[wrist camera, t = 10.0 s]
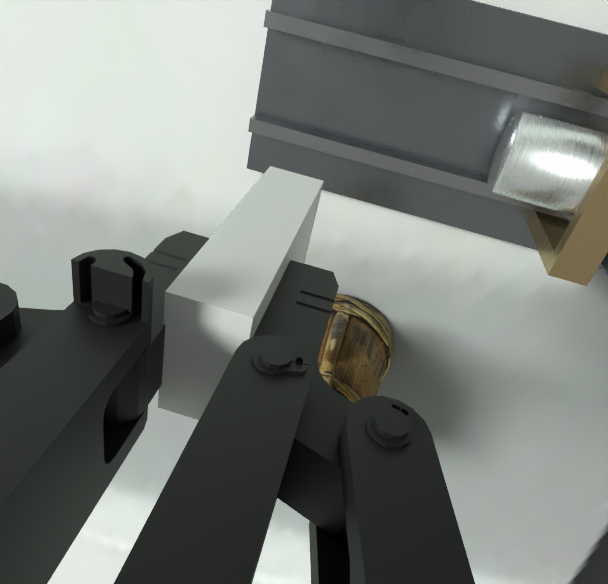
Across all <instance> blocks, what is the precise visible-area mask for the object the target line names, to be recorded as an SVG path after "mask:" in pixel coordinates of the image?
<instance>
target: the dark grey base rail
mask: <svg viewBox="0 0 608 584" xmlns="http://www.w3.org/2000/svg"><path fill="white" fill-rule="evenodd" d="M264 27H267V28H268V32H267V38H266V45H265V52H264V58H263V65H262V71H261V78H260V85H259V91H258V98H257V104H256V111H255V115H254V116H252V117H251V118H250V123H249V130H248V131H249V132H252V137H251V144H250V150H249V157H248V164H247V168H248V169H251V170H255V171H258V172H262V173H265V172H266V171H267V169H268V168H269V167H270V166H272V167H275V168H279V169H283V170H286V171H290V172H294V173H297V174H301V175H304V176H308V177H312V178H315V179H319V180H323V181H324V182H323V186H322V190H326V191H330V192H333V193H337V194H340V195H344V196H347V197H351V198H354V199H358V200H362V201H365V202H369V203H372V204H376V205H379V206H383V207H386V208H390V209H394V210H397V211H401V212H404V213H408V214H411V215H415V216H419V217H422V218H426V219H429V220H433V221H436V222H440V223H443V224H447V225H451V226H454V227H458V228H461V229H465V230H468V231H472V232H475V233H479V234H483V235H486V236H490V237H493V238H497V239H500V240H504V241H507V242H511V243H515V244H518V245H522V246H525V247H529V248H532V249H536V250H538V249H537V247H536V244H535V242H534V240H533V237H532V235H531V232H530V230H529V227H528V223H529V221H530V219H531V217H532V215H533V213H534V211H538V212H542V213H545V214H549V215H553V216H556V217H560V218H564V219H567V220H568V221H569V223H570V221H571V220H572V218H573V215H569V214H566V213H562V212H558V211H555V210H551V209H548V208H544V207H540V206H537V205H533V204H530V203H526V202H522V201H519V200H515V199H512V198H508V197H504V196H501V195H497V194H494V193H490V192H488V190H487V181H488V175H489V170H490V166H491V163H492V160H493V157H494V154H495V151H496V148H497V146H498V143H499V141H500V139H501V137H502V134H503V132H504V130H505V128H506V127H507V125H508V123H509V121H510V120H511V118H512V117H513V116H514V114H515V113H516V112H518V111H519V110H521V111H525V112H529V113H533V114H536V115H540V116H544V117H548V118H551V119H555V120H559V121H563V122H566V123H570V124H574V125H578V126H581V127H585V128H589V129H593V130H596V131H600V132H604V133H608V95H607V94H606V93H604V92H602V91H601V90H599V89H598V88H597V86H598V84H599V82H600V80H601V78H602V76H603V74H604V72H605V70H606V68H608V35H606V34H602V33H598V32H595V31H591V30H587V29H583V28H579V27H575V26H571V25H567V24H563V23H559V22H555V21H551V20H547V19H543V18H539V17H535V16H531V15H527V14H523V13H520V12H516V11H512V10H508V9H504V8H500V7H496V6H492V5H488V4H484V3H480V2H476V1H472V0H272V5H271V9H270V10H266V15H265V21H264ZM599 267H600V268H604V267H603V266H602V264H600V265H599Z"/></svg>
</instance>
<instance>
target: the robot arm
mask: <svg viewBox="0 0 608 584" xmlns="http://www.w3.org/2000/svg"><path fill="white" fill-rule="evenodd" d="M323 182H324V181H323V180H319V179H315V178H312V177H308V176H304V175H301V174H297V173H294V172H290V171H286V170H283V169H279V168H275V167H272V166H270V167H269V168H268V169H267V171H266V172H265V173H264V174H263V175H262V177H261V178H260V179H259V180H258V181H257V182H256V184H255V185H254V186H253V187H252V188H251V190H250V191H249V192H248V193H247V194H246V196H245V197H244V198H243V199H242V200H241V202H240V203H239V204H238V205H237V206H236V208H235V209H234V210H233V211H232V212H231V213H230V215H229V216H228V217H227V218H226V219H225V221H224V222H223V223H222V224H221V225H220V227H219V228H218V229H217V230H216V231H215V233H214V234H213V235H212V236H211V237H210V238H207V237H203V236H200V235H196V234H193V233H189V232H186V231H182V232H180V233H177V234H175V235H172V236H170V237H167V238H165V239H164V240H163V241H162V242H161V243H160V244H159V245H158V246H157V247H156V248H155V249H154V252H151V253H150V254H149V255H148V256H147V257H146V258H145V259H144V258H143V257H141V256H138V255H136V254H134V253H131V252H127V251H121V250H115V249H113V250H95V251H91V252H87V253H83V254H81V255H79V256H77V257H75V258H73V259H72V260H71V263H72V280H73V296H74V302H73V303H71V304H70V305H69V306H68V307H67V308H66V309H65V310H44V309H31V308H19V306H18V300H17V295H16V292H15V291H14V290H12V289H11V288H10V287H9V286H8V285H5V284H2V283H0V584H47V583H48V581H49V579H50V578H51V576H52V575H53V573H54V572H55V570H56V568H57V567H58V565H59V564H60V562H61V560H62V559H63V557H64V556H65V554H66V552H67V551H68V549H69V548H70V546H71V544H72V543H73V541H74V540H75V538H76V536H77V535H78V533H79V532H80V530H81V528H82V527H83V525H84V524H85V522H86V520H87V519H88V517H89V516H90V514H91V512H92V511H93V509H94V508H95V506H96V504H97V503H98V501H99V500H100V498H101V496H102V495H103V493H104V492H105V490H106V488H107V487H108V485H109V484H110V482H111V481H112V479H113V477H114V476H115V474H116V473H117V471H118V469H119V468H120V466H121V465H122V463H123V461H124V460H125V458H126V457H127V455H128V453H129V452H130V450H131V449H132V447H133V445H134V444H135V442H136V441H137V439H138V437H139V436H140V434H141V433H142V431H143V429H144V427H145V424H146V421H147V414H148V404H149V403H150V401H151V400H152V398H153V397H154V395H155V394H156V392H157V390H158V389H159V399H158V407H159V408H162V409H165V410H169V411H172V412H175V413H178V414H182V415H185V416H188V417H191V418H194V419H198V420H199V422H198V423H197V425H196V427H195V429H194V431H193V433H192V435H191V437H190V439H189V441H188V443H187V445H186V446H185V448H184V450H183V452H182V454H181V456H180V458H179V460H178V462H177V464H176V466H175V468H174V469H173V471H172V473H171V475H170V477H169V479H168V481H167V483H166V485H165V487H164V489H163V490H162V492H161V494H160V496H159V498H158V500H157V502H156V504H155V506H154V508H153V510H152V512H151V513H150V515H149V517H148V519H147V521H146V523H145V525H144V527H143V529H142V531H141V533H140V535H139V536H138V538H137V540H136V542H135V544H134V546H133V548H132V550H131V552H130V554H129V556H128V558H127V559H126V561H125V563H124V565H123V567H122V569H121V571H120V573H119V575H118V577H117V579H116V580H115V582H114V584H252V581H253V578H254V574H255V571H256V567H257V564H258V561H259V557H260V554H261V550H262V547H263V544H264V540H265V537H266V534H267V530H268V527H269V523H270V520H271V517H272V513H273V510H274V506H275V503H276V500H277V498H279V499H280V500H281V501H283V502H284V503H286V504H287V505H288V506H290V507H291V508H293V509H294V510H295V511H297V512H298V513H300V514H301V515H302V516H304V517H305V518H307V519H308V520H310V522H309V533H310V560H311V584H475V582H474V578H473V575H472V572H471V568H470V565H469V561H468V558H467V554H466V551H465V548H464V544H463V541H462V537H461V534H460V531H459V527H458V524H457V520H456V517H455V513H454V510H453V507H452V503H451V500H450V496H449V493H448V490H447V486H446V483H445V479H444V476H443V472H442V469H441V466H440V462H439V459H438V455H437V452H436V449H435V445H434V442H433V438H432V435H431V432H430V430H429V429H428V427H427V425H426V423H425V421H424V420H423V419H422V418H421V417H420V416H419V415H418V414H417V413H416V412H415V411H414V410H413V409H412V408H411V407H409V406H407V405H405V404H404V403H402V402H400V401H398V400H395V399H391V398H388V397H384V396H367V397H365V398H362V399H360V400H358V401H355V403H354V402H352V401H350V400H349V399H347V398H345V397H344V396H342V395H341V394H339V393H338V392H336V391H335V390H334V389H332V388H331V387H330V386H329V385H328V383H327V382H326V381H325V380H324V378H323V377H322V375H321V373H320V371H319V367H318V356H319V352H320V349H321V345H322V342H323V338H324V335H325V332H326V328H327V325H328V321H329V318H330V314H331V311H332V307H333V304H334V301H335V297H336V294H337V290H338V287H339V286H338V284H337V281H336V278H335V276H334V273H333V272H331V271H327V270H324V269H320V268H317V267H314V266H310V265H307V264H304V262H305V257H306V253H307V249H308V245H309V241H310V236H311V232H312V228H313V224H314V220H315V215H316V211H317V207H318V203H319V199H320V194H321V190H322V186H323Z"/></svg>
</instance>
